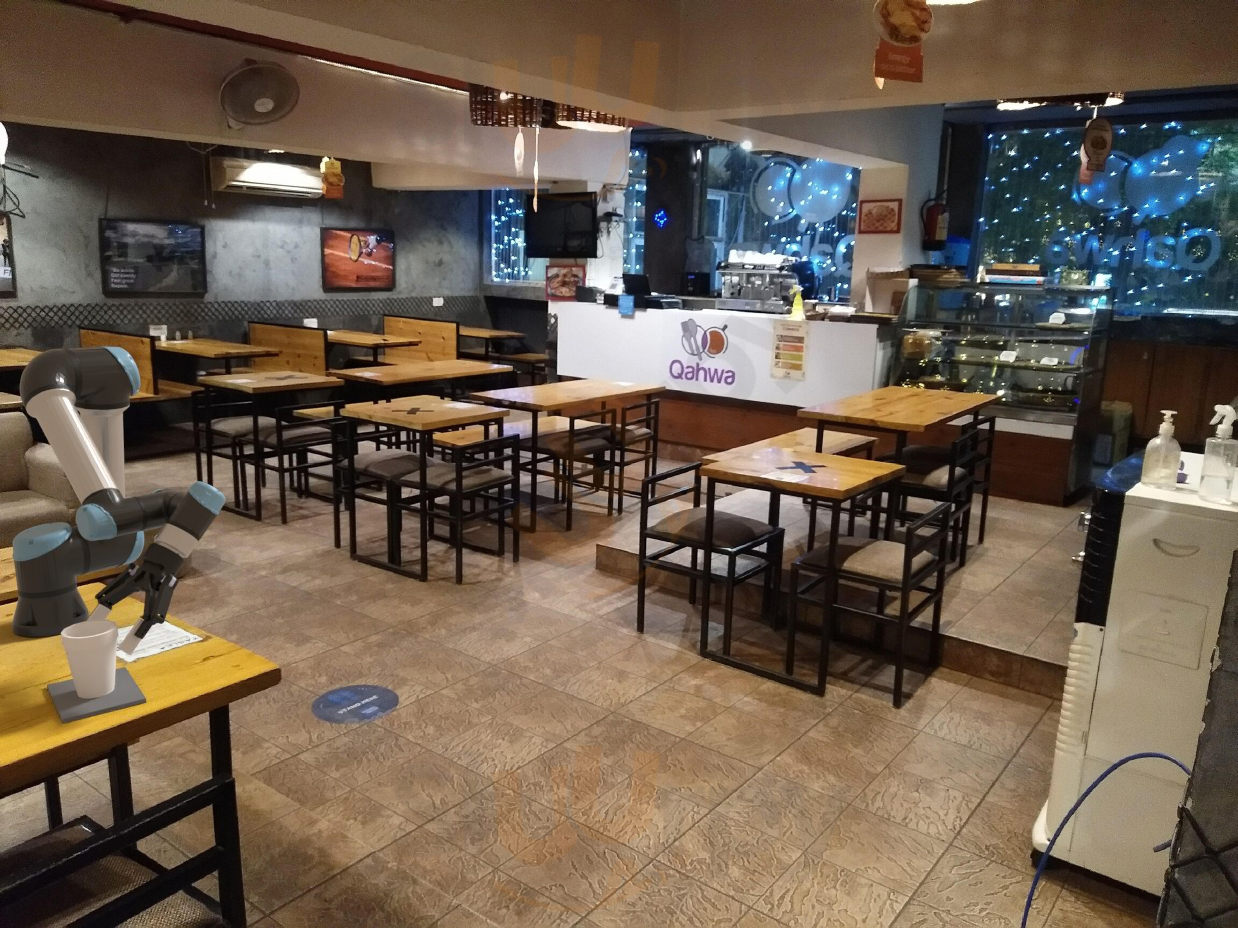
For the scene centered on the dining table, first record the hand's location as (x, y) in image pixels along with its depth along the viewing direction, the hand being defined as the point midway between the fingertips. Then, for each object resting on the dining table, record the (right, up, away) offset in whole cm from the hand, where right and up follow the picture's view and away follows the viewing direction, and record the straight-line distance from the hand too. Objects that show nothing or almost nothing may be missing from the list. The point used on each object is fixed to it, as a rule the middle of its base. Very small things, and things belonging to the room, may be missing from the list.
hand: (104, 643), depth 176 cm
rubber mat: (-2, -10, +1) cm, 10 cm away
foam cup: (-2, -10, +1) cm, 10 cm away
